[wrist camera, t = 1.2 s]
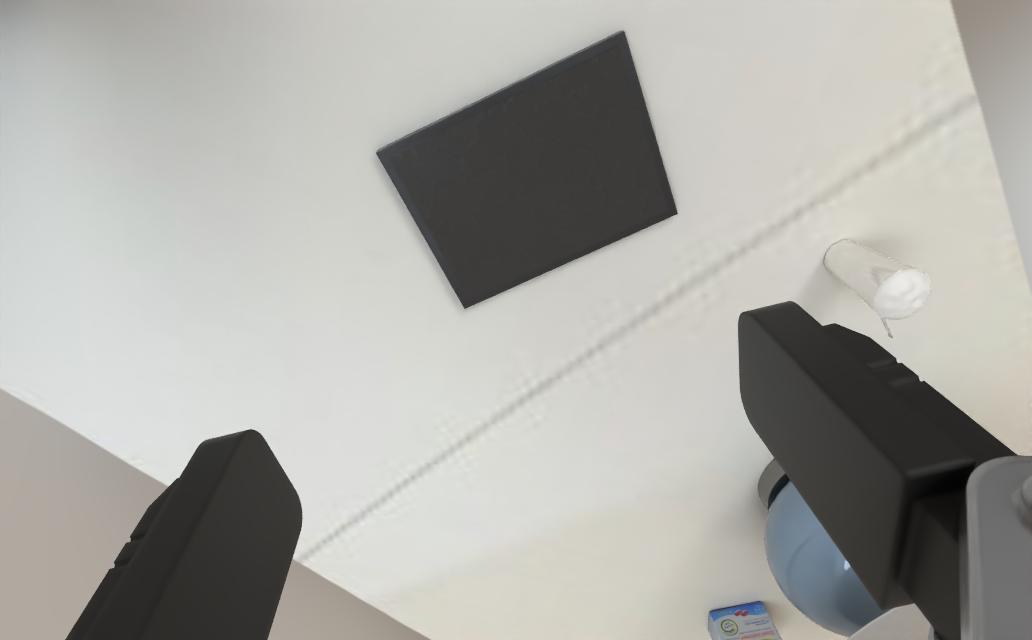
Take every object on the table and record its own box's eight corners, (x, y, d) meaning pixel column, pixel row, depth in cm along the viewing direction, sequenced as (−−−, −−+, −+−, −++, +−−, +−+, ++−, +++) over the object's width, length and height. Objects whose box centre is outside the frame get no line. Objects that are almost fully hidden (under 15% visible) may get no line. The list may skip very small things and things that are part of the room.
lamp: (899, 359, 59) (1501, 830, 25) (915, 499, 71) (1335, 942, 37) (681, 450, 62) (962, 978, 28) (732, 569, 74) (971, 1037, 40)
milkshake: (800, 273, 52) (871, 327, 43) (840, 224, 50) (923, 270, 41) (834, 291, 53) (909, 347, 45) (874, 245, 51) (961, 293, 43)
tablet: (464, 304, 50) (464, 309, 49) (376, 150, 42) (375, 152, 41) (674, 210, 47) (678, 214, 47) (621, 30, 40) (624, 30, 39)
